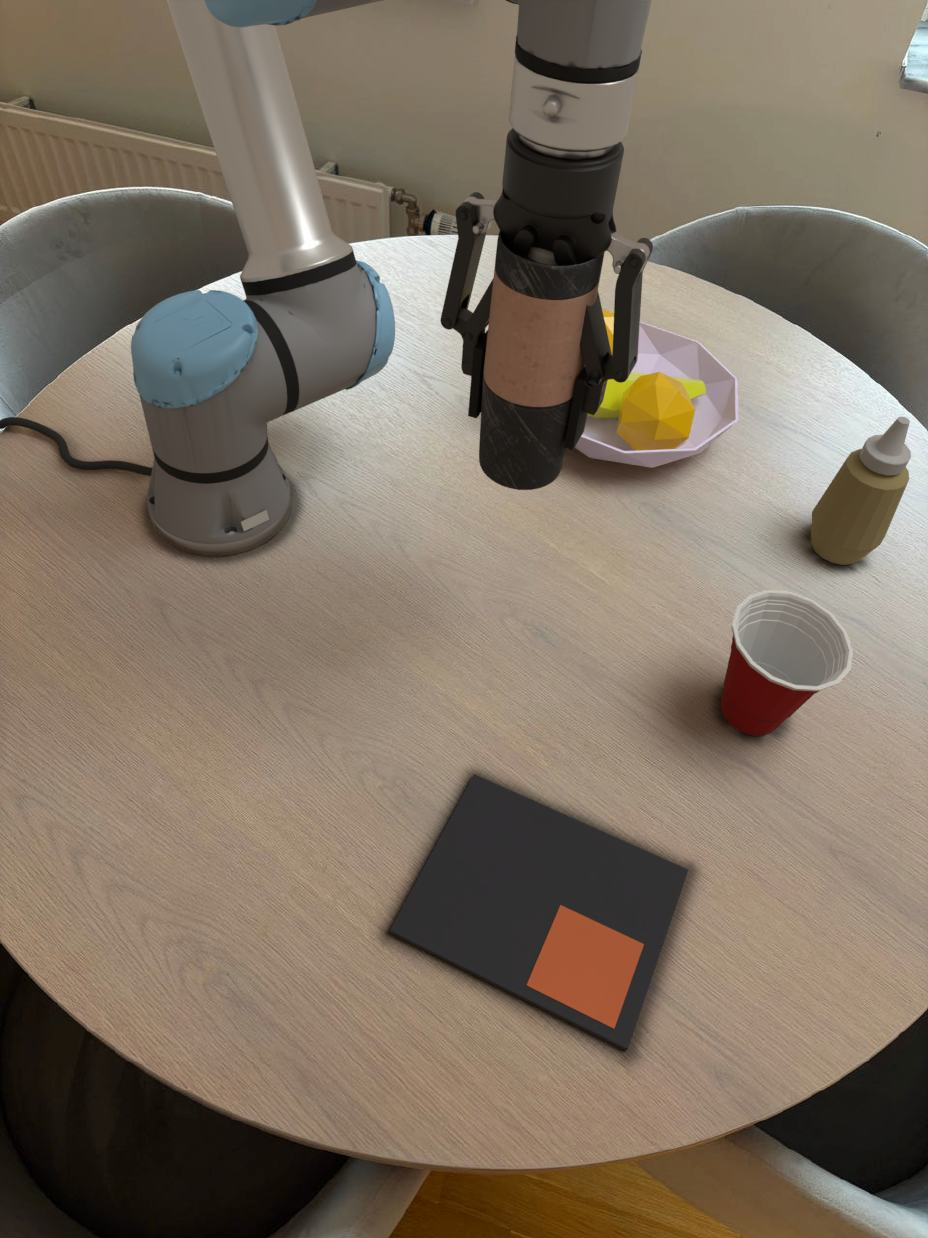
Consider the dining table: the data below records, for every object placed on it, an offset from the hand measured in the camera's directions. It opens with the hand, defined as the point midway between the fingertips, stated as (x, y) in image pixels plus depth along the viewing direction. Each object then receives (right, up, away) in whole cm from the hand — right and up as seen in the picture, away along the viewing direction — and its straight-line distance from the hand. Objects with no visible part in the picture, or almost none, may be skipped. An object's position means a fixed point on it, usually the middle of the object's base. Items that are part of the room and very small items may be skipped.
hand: (525, 423), depth 77 cm
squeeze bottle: (+37, -8, +30) cm, 48 cm away
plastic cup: (+23, -25, +15) cm, 37 cm away
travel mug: (0, -3, +3) cm, 4 cm away
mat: (+1, -39, +1) cm, 39 cm away
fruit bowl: (+14, +9, +42) cm, 46 cm away
